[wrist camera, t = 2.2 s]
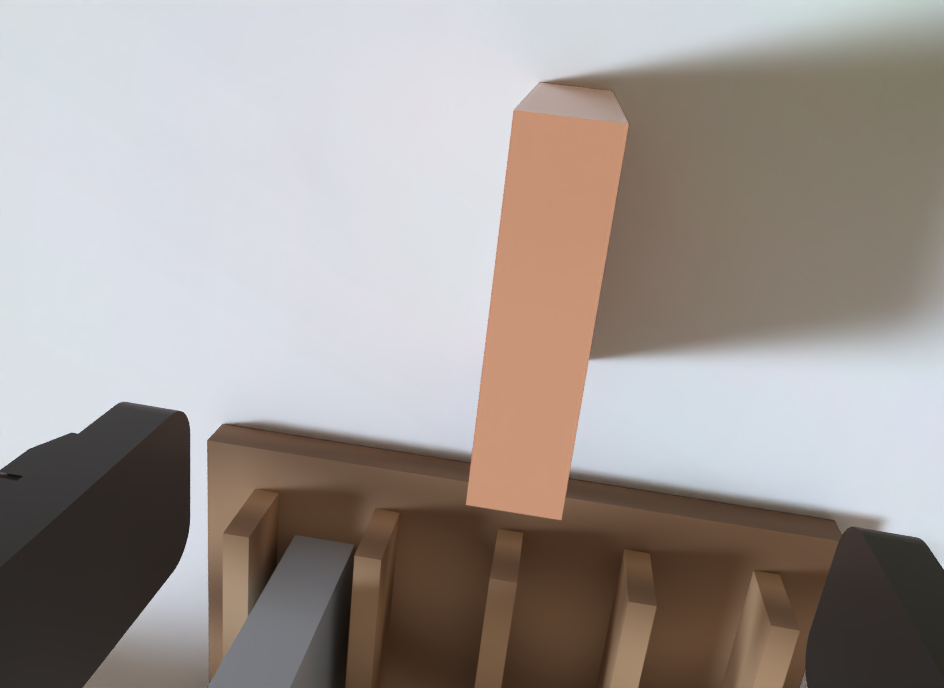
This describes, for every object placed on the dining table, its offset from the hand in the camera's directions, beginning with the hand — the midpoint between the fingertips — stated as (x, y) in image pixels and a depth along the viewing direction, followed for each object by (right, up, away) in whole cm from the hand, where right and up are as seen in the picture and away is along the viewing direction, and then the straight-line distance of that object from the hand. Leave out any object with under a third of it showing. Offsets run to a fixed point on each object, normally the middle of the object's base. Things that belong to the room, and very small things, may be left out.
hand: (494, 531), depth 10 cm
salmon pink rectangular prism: (+2, +6, +14) cm, 15 cm away
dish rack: (+1, -8, +19) cm, 21 cm away
